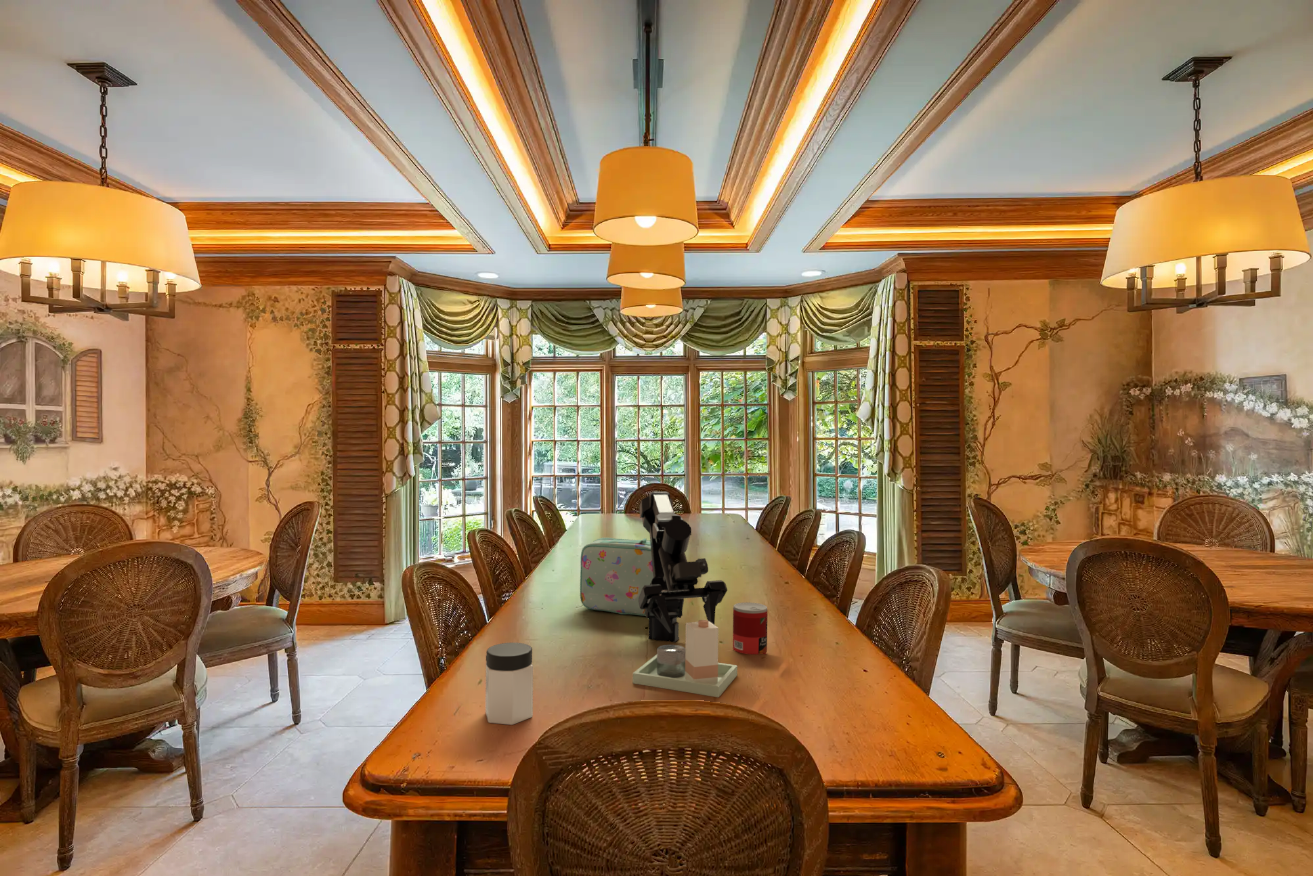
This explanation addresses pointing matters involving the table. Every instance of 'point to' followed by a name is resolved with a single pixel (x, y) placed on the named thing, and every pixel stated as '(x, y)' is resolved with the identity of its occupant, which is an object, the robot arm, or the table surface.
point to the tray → (651, 678)
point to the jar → (509, 683)
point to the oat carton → (701, 652)
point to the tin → (671, 661)
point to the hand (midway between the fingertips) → (692, 630)
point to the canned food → (750, 628)
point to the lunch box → (615, 574)
